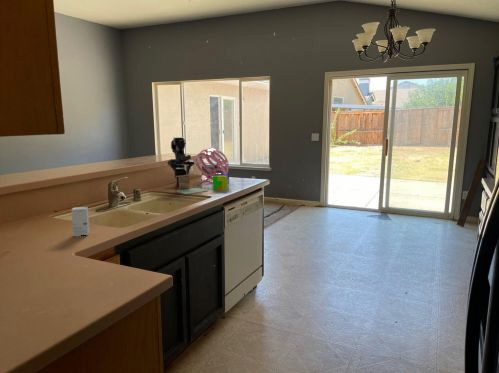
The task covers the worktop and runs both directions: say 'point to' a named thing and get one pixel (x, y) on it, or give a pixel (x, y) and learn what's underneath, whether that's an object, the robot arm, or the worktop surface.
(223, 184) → the puzzle toy
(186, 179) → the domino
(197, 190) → the mat
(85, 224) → the skincare box
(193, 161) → the robot arm
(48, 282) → the worktop surface
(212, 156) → the spiral basket
